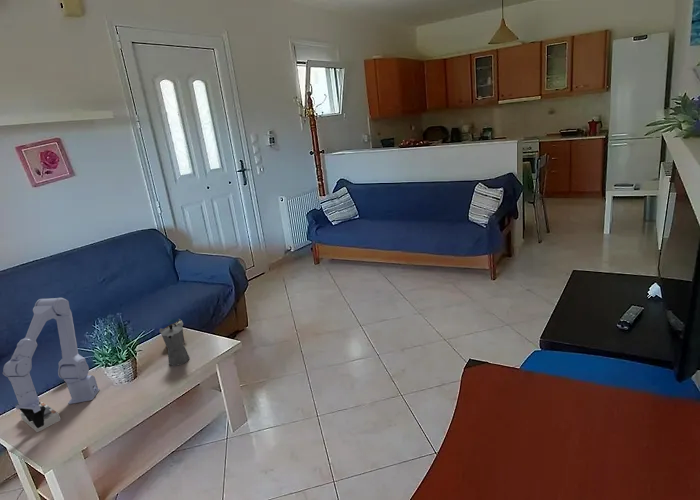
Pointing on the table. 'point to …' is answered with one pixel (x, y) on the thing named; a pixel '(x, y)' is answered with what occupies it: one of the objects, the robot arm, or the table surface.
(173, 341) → the coffeepot
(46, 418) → the switch unit
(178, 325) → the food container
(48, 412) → the rocker
